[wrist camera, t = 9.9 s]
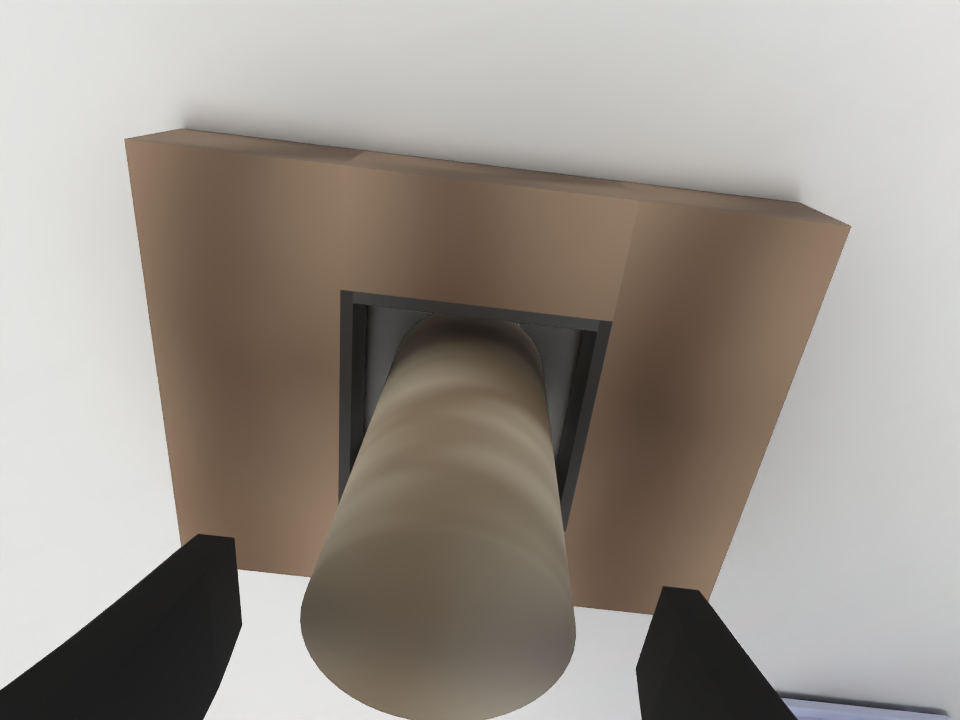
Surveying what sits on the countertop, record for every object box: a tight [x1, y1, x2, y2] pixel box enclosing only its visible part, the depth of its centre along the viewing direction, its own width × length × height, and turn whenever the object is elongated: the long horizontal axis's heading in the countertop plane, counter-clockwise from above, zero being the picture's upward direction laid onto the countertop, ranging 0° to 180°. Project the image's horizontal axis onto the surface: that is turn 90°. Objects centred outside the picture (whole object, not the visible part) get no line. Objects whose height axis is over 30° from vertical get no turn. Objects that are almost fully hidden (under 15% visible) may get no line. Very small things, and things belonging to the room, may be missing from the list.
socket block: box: [124, 129, 851, 615], centre depth 17 cm, size 16×12×2 cm
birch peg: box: [300, 313, 576, 720], centre depth 14 cm, size 4×4×9 cm
